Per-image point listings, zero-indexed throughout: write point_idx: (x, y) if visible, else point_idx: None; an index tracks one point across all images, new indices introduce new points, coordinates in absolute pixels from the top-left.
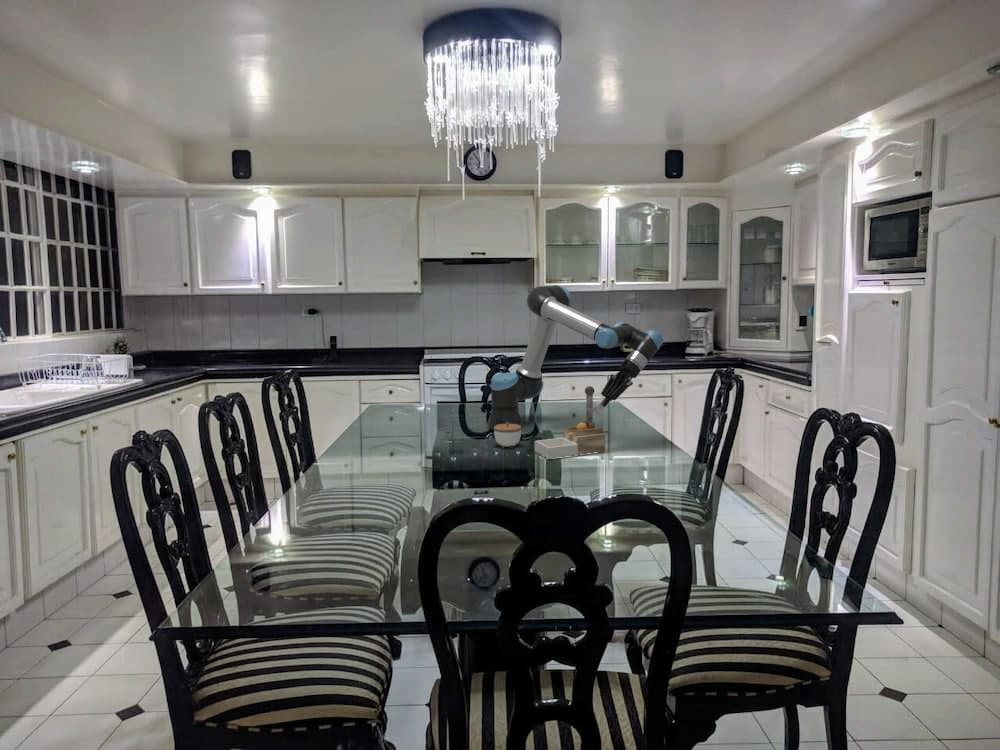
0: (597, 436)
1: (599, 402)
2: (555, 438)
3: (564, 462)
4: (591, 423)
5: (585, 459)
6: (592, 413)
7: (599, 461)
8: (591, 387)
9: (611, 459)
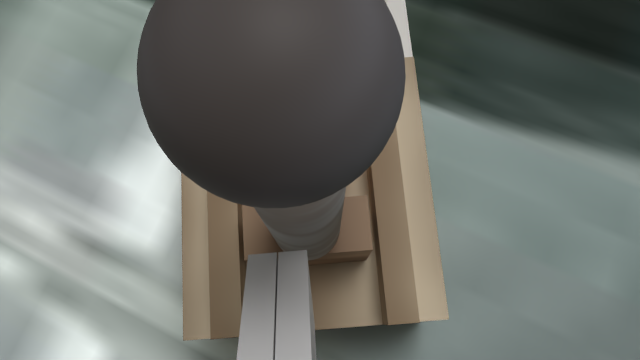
0: (186, 260)
1: (267, 356)
2: (405, 24)
3: (120, 10)
4: (252, 224)
5: (119, 140)
6: (273, 235)
7: (40, 197)
8: (168, 47)
9: (41, 289)
